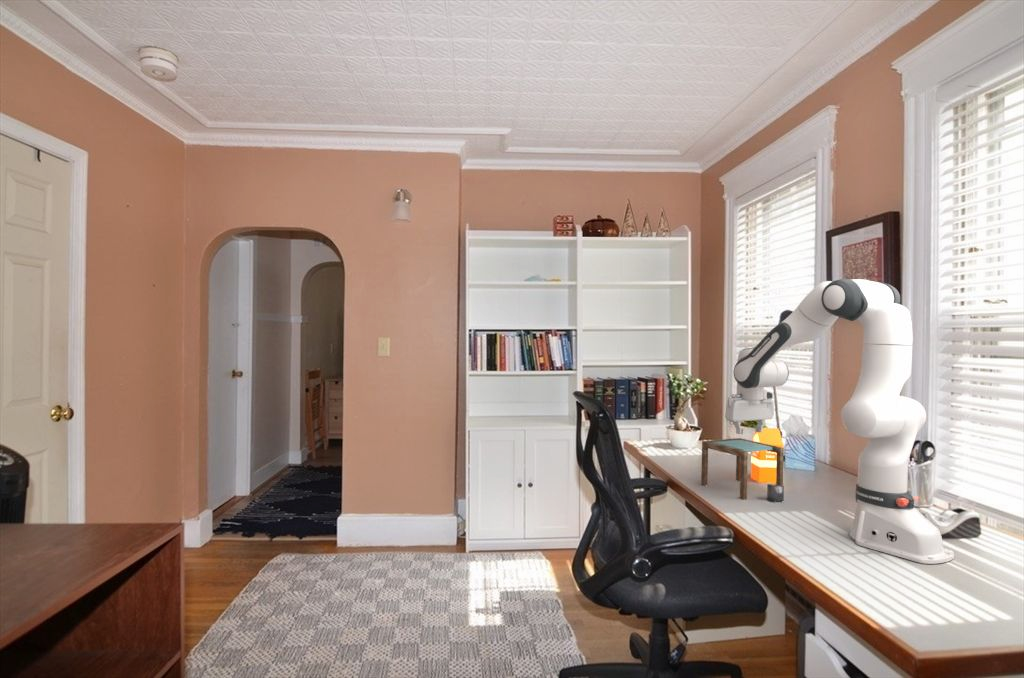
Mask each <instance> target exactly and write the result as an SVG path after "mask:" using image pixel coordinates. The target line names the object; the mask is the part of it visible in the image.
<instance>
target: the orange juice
mask: <svg viewBox="0 0 1024 678" xmlns="http://www.w3.org/2000/svg"><path fill="white" fill-rule="evenodd" d="M751 441H755V442H760V443H764V444H769V445H773V446H778V447H783V448H784V443H783V439H782V436H781V432H780V428H774V427H773V428H772V427H771V428H769V427H768V428H767V427H762V432H759V433H758V432H755V431H754V433H753V437H752V439H751ZM750 453H751V454H750V463H751V465H750V478H751V479H752V478H753V479H752V480H753V481H755V480H756V481H755V482H757V481H758V482H762V483H761V484H768V483H767V482H772V483H774V484H776V465H777V453H775V452H771V451H766V450H765V451H755V452H750ZM758 482H757V483H758ZM763 482H764V483H763ZM765 482H766V483H765Z"/></svg>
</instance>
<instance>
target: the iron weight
mask: <svg viewBox="0 0 1024 678" xmlns="http://www.w3.org/2000/svg"><path fill="white" fill-rule="evenodd" d="M766 485H767V488H766V500H767V499H768V500H767V501H769V500H770V501H769V502H772V501H776V502H775V503H779V502H780V503H783V502H782V501H784V498H785V494H784V493H785V491H784V489H785V486H784V484H783V485H780V484H776V483H766Z"/></svg>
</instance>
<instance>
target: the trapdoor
mask: <svg viewBox="0 0 1024 678" xmlns="http://www.w3.org/2000/svg"><path fill="white" fill-rule="evenodd" d="M712 443H715V444H719V445H723V446H728V447H732V448H736V449H740V450H744V451H748V453H751V452H755V451H765V450H772V447H771V446H766V445H762V444H757V443H753V442H748V441H744V440H731V441H720V442H712Z"/></svg>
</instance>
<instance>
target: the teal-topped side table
mask: <svg viewBox="0 0 1024 678" xmlns="http://www.w3.org/2000/svg"><path fill="white" fill-rule="evenodd" d="M731 440H744V441H748V442H753V443H757V444H762V445H766V446H771V447H772V450H766V451H771V452H775V453H777V465H776V483H775V484H780V485H783V486H784V450H785V449H784V446H783V447H778V446H773V445H769V444H764V443H760V442H755V441H752V439H746V438H741V437H739V438H736V437H734V438H724V439H715V440H703V441H702V442H701V476H700V477H701V479H700V485H701V486H703V485H704V486H703V487H707V486H708V476H709V475H708V474H709V473H708V471H709V467H708V466H709V450H713V451H716V452H721V453H724V454H729V455H733V456H736V462H735V481H736V480H737V481H736V482H739V499H742V500H747V498H748V493H747V492H748V458H749V457H748V456H749V455H748V453H749V452H748V451H744V450H740V449H736V448H732V447H728V446H723V445H719V444H715V443H712V442H720V441H731ZM706 485H707V486H706Z"/></svg>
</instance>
